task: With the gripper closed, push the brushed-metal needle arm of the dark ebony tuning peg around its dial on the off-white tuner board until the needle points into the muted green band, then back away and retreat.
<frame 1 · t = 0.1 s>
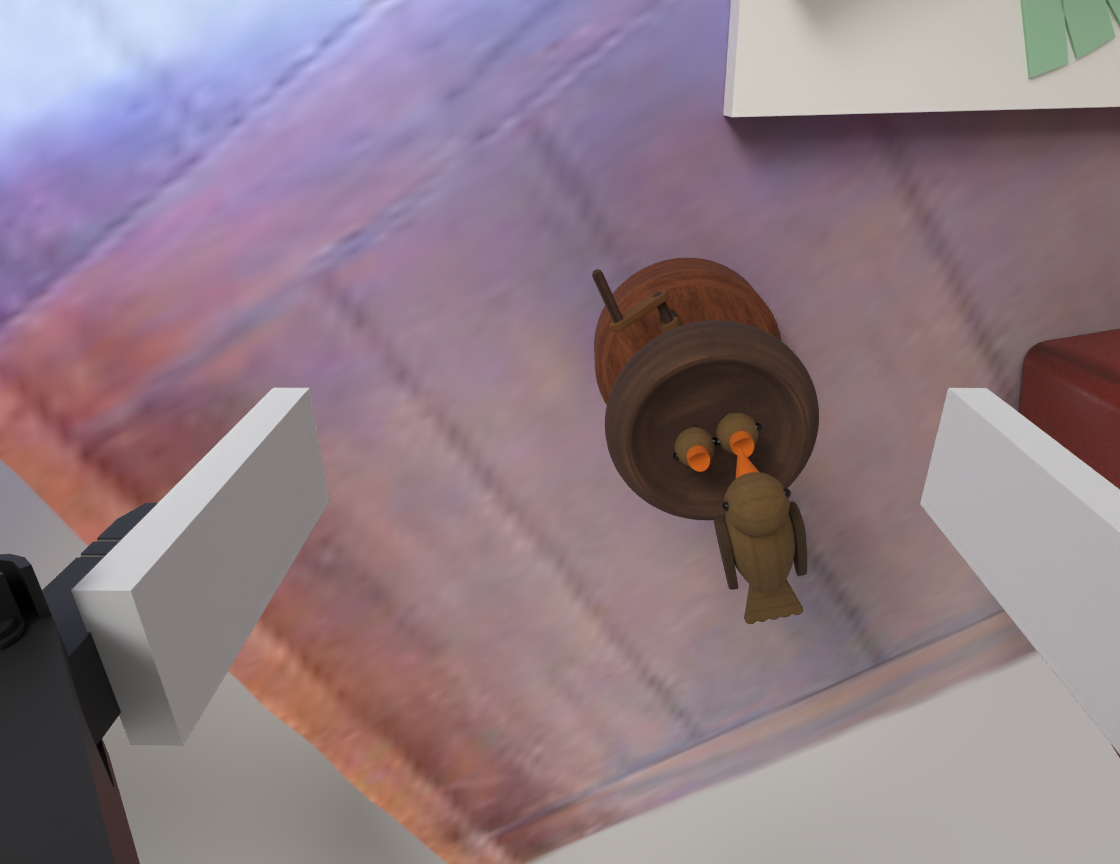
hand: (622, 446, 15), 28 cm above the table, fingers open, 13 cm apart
music box: (674, 333, 43), on the table
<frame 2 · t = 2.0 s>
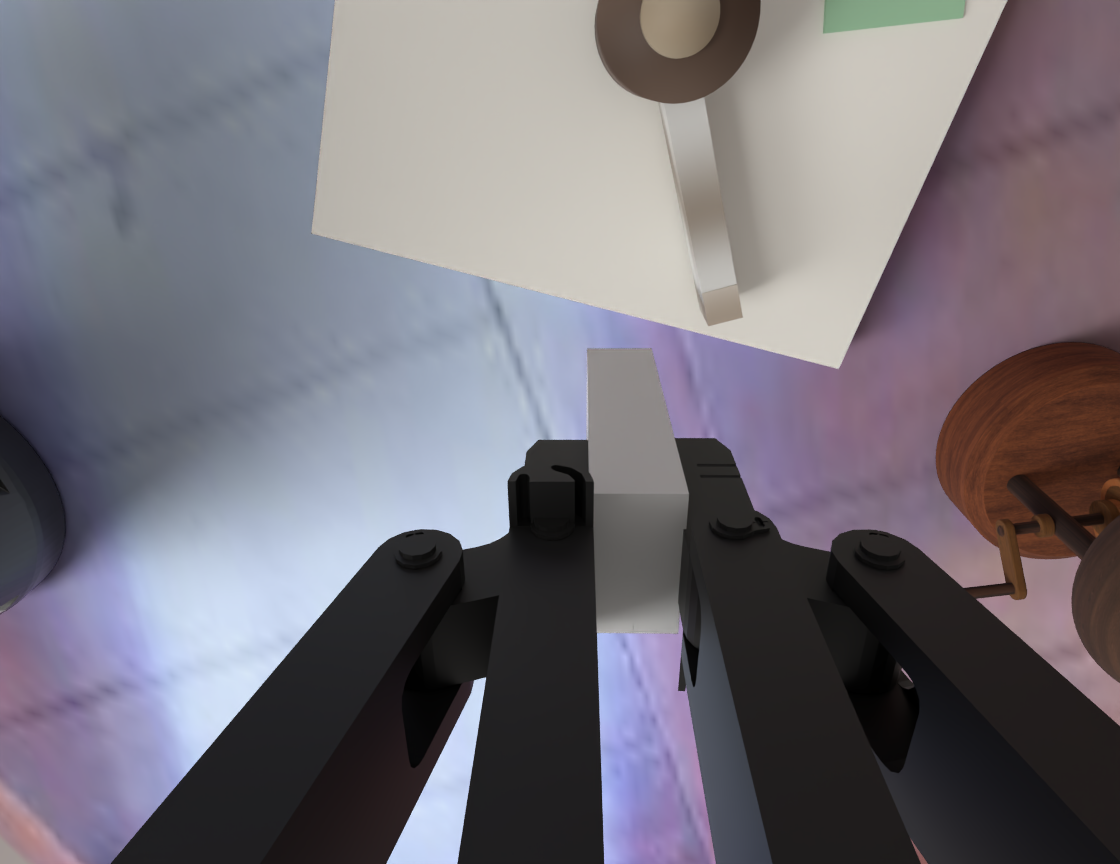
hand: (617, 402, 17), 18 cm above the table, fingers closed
tuner board: (654, 30, 29), on the table
music box: (1023, 441, 37), on the table
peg: (694, 150, 26), point 5 cm above the table, hinge at 0.0°
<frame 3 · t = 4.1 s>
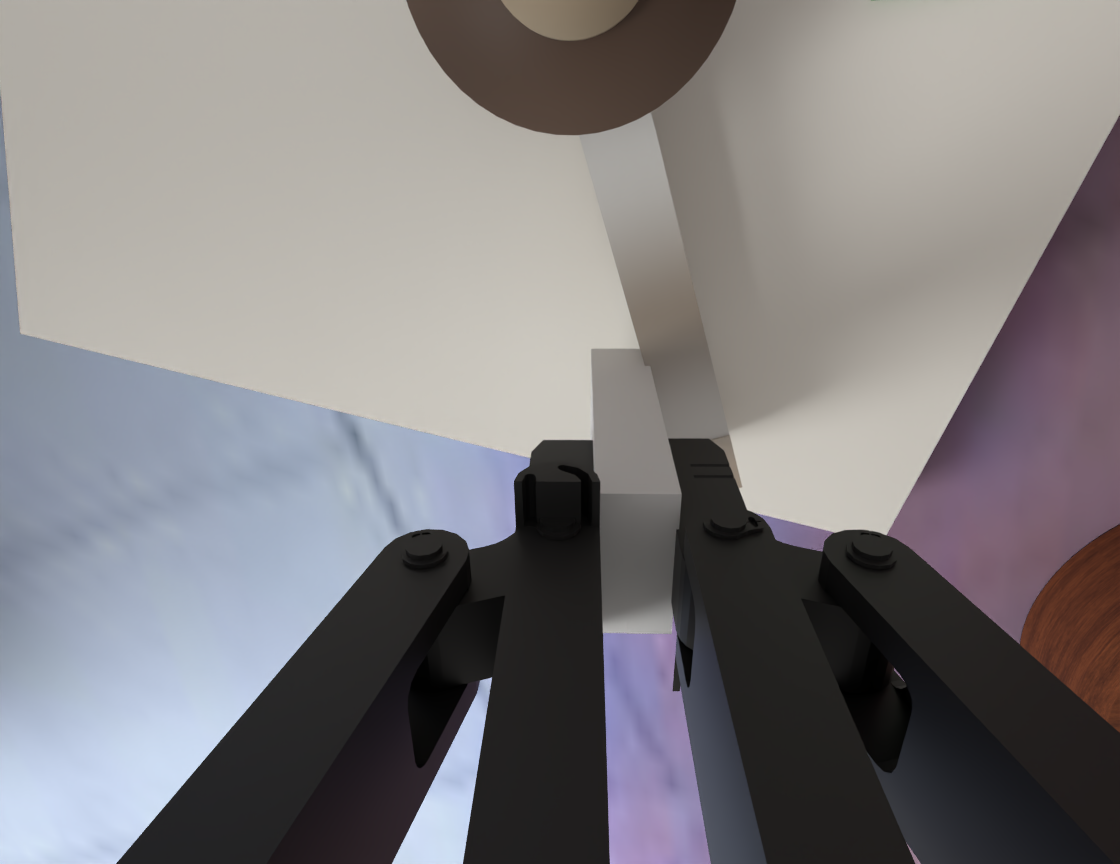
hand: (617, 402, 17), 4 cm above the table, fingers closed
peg: (638, 213, 14), point 5 cm above the table, hinge at 2.3°, touching gripper
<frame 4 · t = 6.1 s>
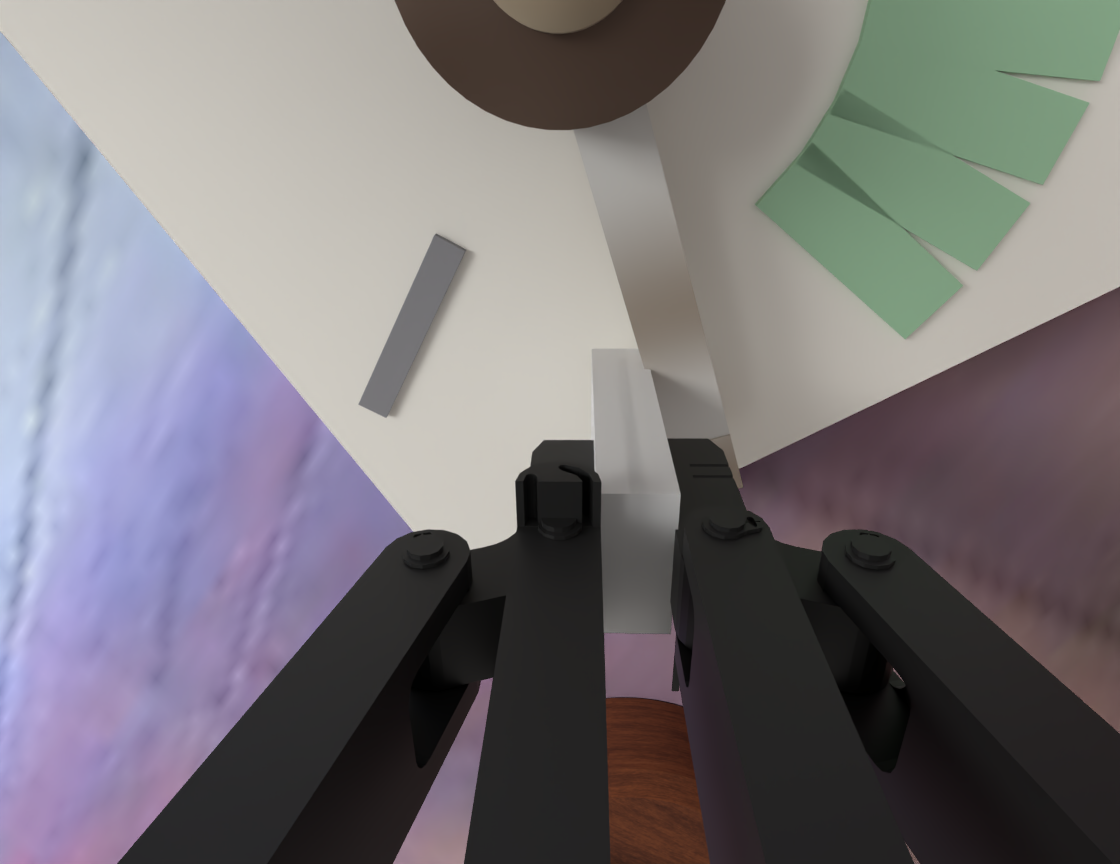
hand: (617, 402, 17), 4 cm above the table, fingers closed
music box: (609, 781, 29), on the table
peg: (634, 209, 14), point 5 cm above the table, hinge at 46.5°, touching gripper
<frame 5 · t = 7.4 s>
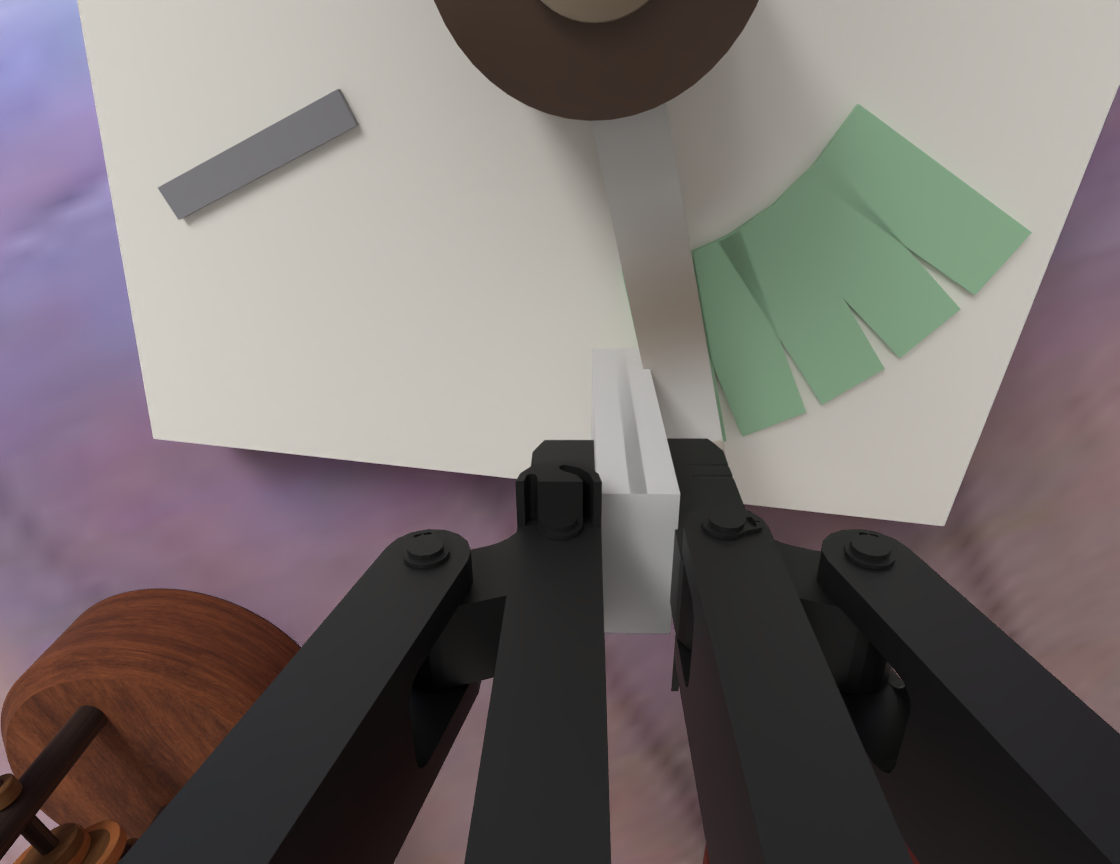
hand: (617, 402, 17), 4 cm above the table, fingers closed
music box: (188, 679, 28), on the table
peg: (646, 207, 14), point 5 cm above the table, hinge at 79.5°, touching gripper
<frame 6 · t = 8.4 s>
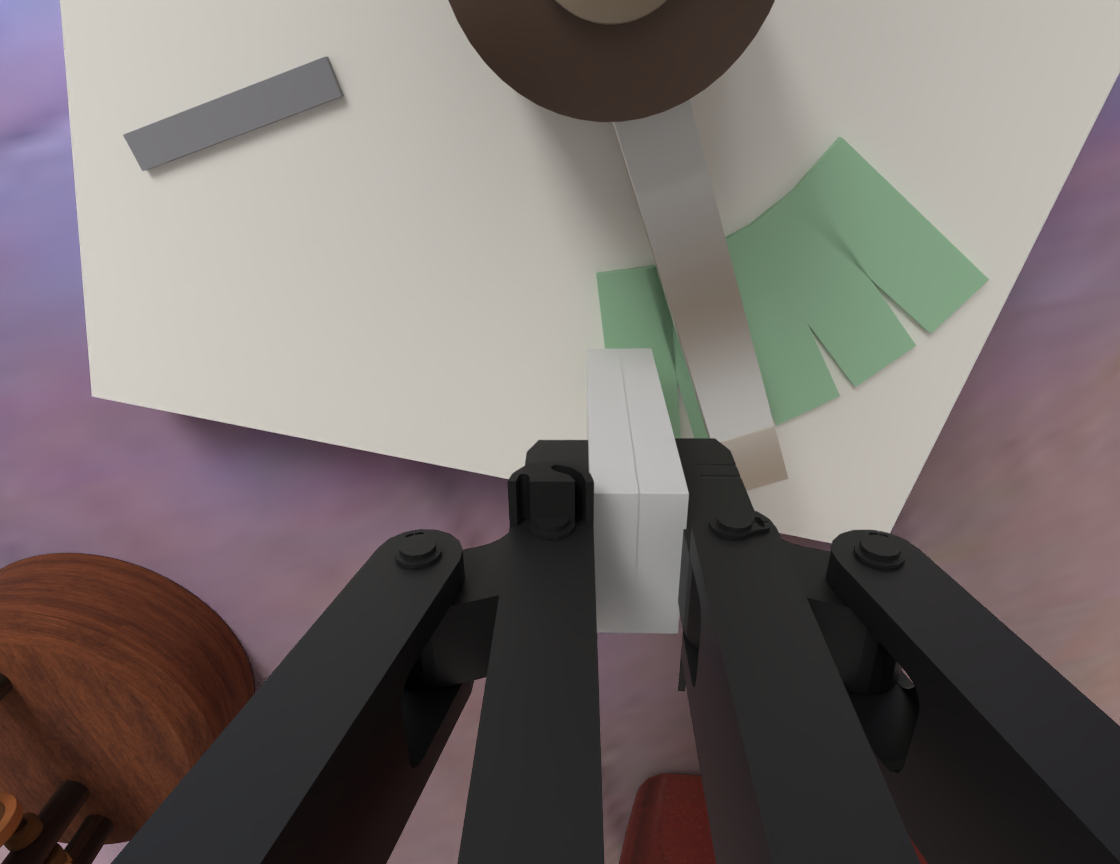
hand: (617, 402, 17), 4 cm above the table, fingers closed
music box: (103, 650, 27), on the table
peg: (678, 201, 14), point 5 cm above the table, hinge at 92.0°
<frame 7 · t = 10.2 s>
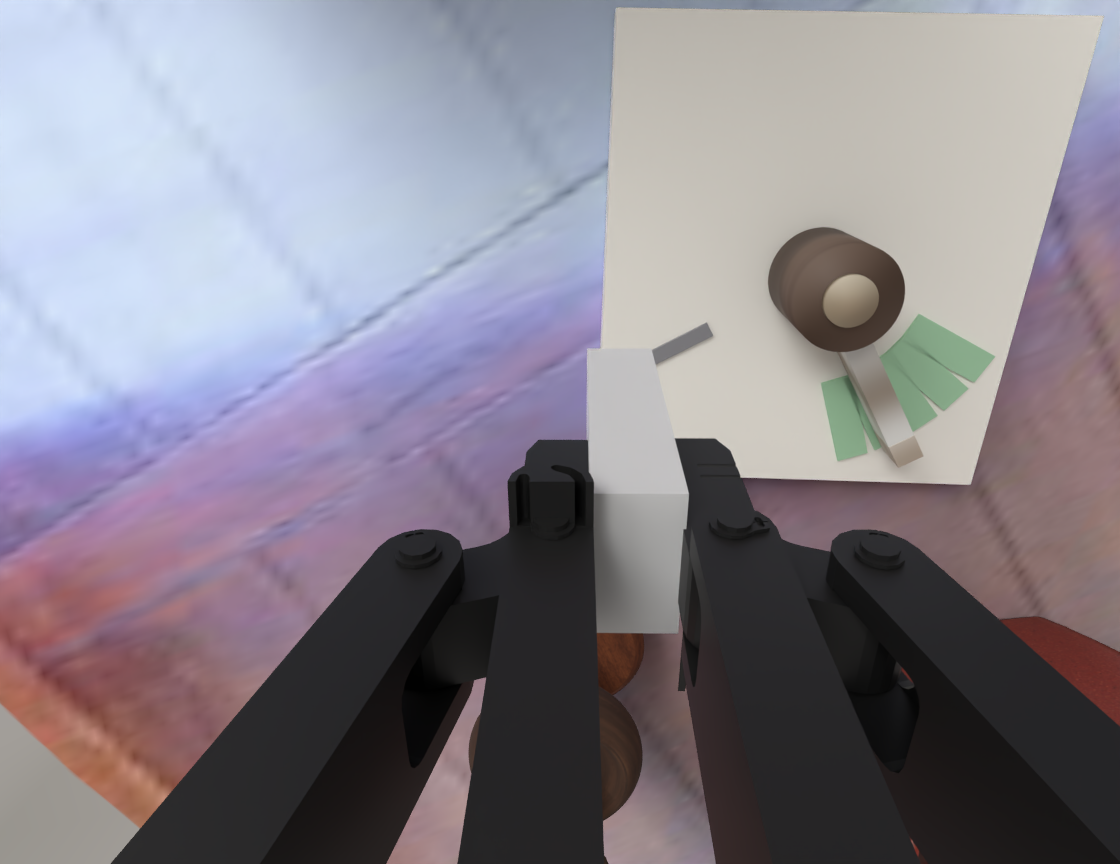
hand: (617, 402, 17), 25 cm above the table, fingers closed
tuner board: (802, 266, 40), on the table
plant pot: (946, 689, 52), on the table
music box: (560, 607, 50), on the table
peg: (865, 360, 36), point 5 cm above the table, hinge at 92.1°
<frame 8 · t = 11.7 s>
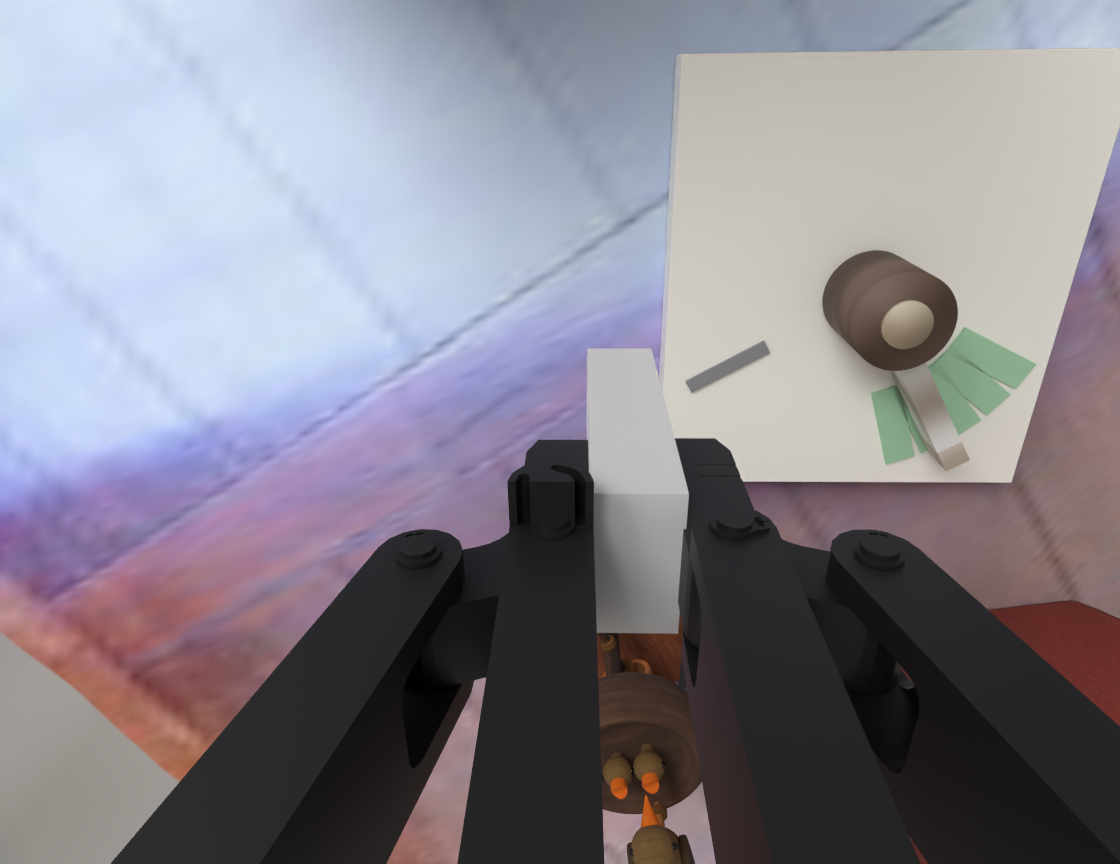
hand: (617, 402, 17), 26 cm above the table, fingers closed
tuner board: (852, 283, 42), on the table
plant pot: (983, 669, 55), on the table
music box: (619, 604, 53), on the table
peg: (916, 374, 39), point 5 cm above the table, hinge at 92.1°
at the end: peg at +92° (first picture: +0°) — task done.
